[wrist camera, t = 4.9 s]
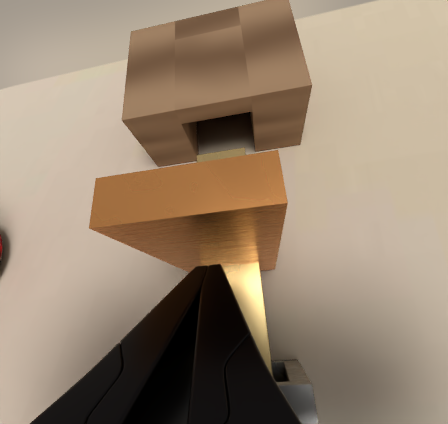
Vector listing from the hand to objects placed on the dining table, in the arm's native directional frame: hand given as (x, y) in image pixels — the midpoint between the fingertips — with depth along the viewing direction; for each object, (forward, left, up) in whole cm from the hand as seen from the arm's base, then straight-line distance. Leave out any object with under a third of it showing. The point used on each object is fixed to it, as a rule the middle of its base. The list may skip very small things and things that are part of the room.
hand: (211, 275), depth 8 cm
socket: (+11, +9, -8) cm, 17 cm away
